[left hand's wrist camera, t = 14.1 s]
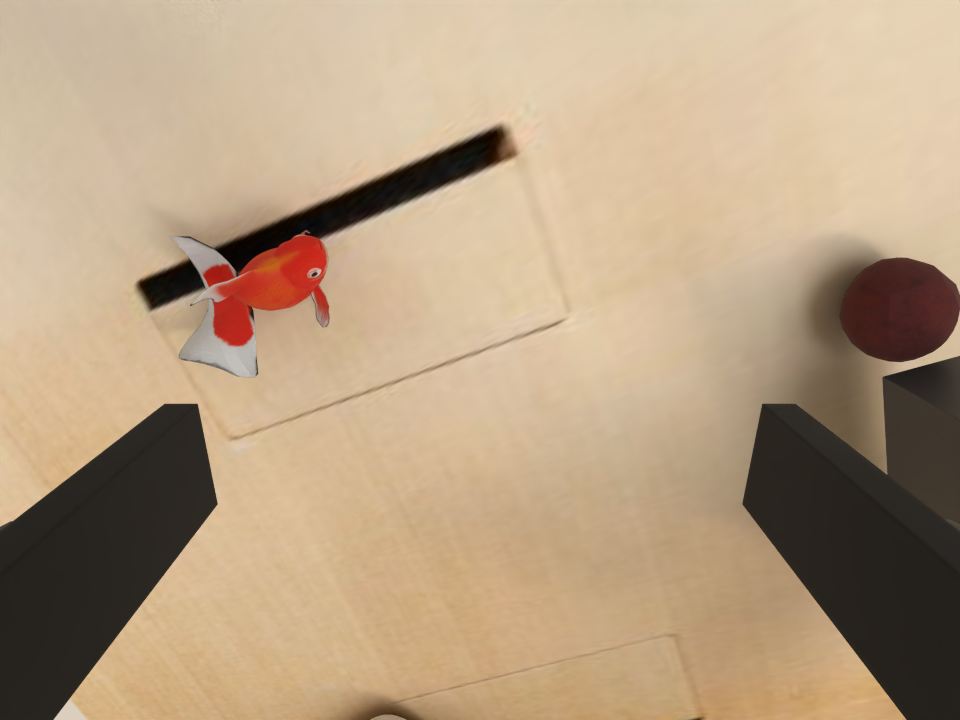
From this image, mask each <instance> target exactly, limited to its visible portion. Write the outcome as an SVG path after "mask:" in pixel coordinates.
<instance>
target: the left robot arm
mask: <svg viewBox="0 0 960 720" xmlns="http://www.w3.org/2000/svg"><path fill="white" fill-rule="evenodd" d="M216 506H217V499H216V494H215V489H214V484H213V479H212V474H211V469H210V464H209V458H208V453H207V448H206V443H205V438H204V433H203V428H202V423H201V418H200V413H199V408H198V404H164V405H163V406H161V407H160V408H159V409H157V410H156V411H155V412H154V413H152V414H151V415H150V416H148V417H147V418H146V419H144V420H143V421H142V422H141V423H139V424H138V425H137V426H135V427H134V428H133V429H132V430H130V431H129V432H128V433H126V434H125V435H124V436H123V437H121V438H120V439H119V440H117V441H116V442H115V443H113V444H112V445H111V446H110V447H108V448H107V449H106V450H104V451H103V452H102V453H101V454H99V455H98V456H97V457H95V458H94V459H93V460H92V461H90V462H89V463H88V464H86V465H85V466H84V467H82V468H81V469H80V470H79V471H77V472H76V473H75V474H73V475H72V476H71V477H70V478H68V479H67V480H66V481H64V482H63V483H62V484H61V485H59V486H58V487H57V488H55V489H54V490H53V491H51V492H50V493H49V494H48V495H46V496H45V497H44V498H42V499H41V500H40V501H39V502H37V503H36V504H35V505H33V506H32V507H31V508H30V509H28V510H27V511H26V512H24V513H23V514H22V515H20V516H19V517H18V518H17V519H15V520H14V521H11V522H9V523H7V524H5V525H3V526H1V527H0V720H54V718H55V717H56V716H57V714H58V713H59V712H60V710H61V709H62V708H63V706H64V705H65V704H66V702H67V701H68V700H69V699H70V697H71V696H72V695H73V693H74V692H75V691H76V689H77V688H78V687H79V685H80V684H81V683H82V681H83V680H84V679H85V678H86V676H87V675H88V674H89V672H90V671H91V670H92V668H93V667H94V666H95V664H96V663H97V662H98V660H99V659H100V658H101V657H102V655H103V654H104V653H105V651H106V650H107V649H108V647H109V646H110V645H111V643H112V642H113V641H114V639H115V638H116V637H117V636H118V634H119V633H120V632H121V630H122V629H123V628H124V626H125V625H126V624H127V622H128V621H129V620H130V618H131V617H132V616H133V615H134V613H135V612H136V611H137V609H138V608H139V607H140V605H141V604H142V603H143V601H144V600H145V599H146V597H147V596H148V595H149V594H150V592H151V591H152V590H153V588H154V587H155V586H156V584H157V583H158V582H159V580H160V579H161V578H162V576H163V575H164V574H165V573H166V571H167V570H168V569H169V567H170V566H171V565H172V563H173V562H174V561H175V559H176V558H177V557H178V555H179V554H180V553H181V552H182V550H183V549H184V548H185V546H186V545H187V544H188V542H189V541H190V540H191V538H192V537H193V536H194V534H195V533H196V532H197V531H198V529H199V528H200V527H201V525H202V524H203V523H204V521H205V520H206V519H207V517H208V516H209V515H210V513H211V512H212V511H213V510H214V508H215V507H216ZM743 506H744V507H745V508H746V510H747V511H748V512H749V513H750V515H751V516H752V517H753V519H754V520H755V521H756V523H757V524H758V525H759V527H760V528H761V529H762V531H763V532H764V533H765V534H766V536H767V537H768V538H769V540H770V541H771V542H772V544H773V545H774V546H775V548H776V549H777V550H778V552H779V553H780V554H781V555H782V557H783V558H784V559H785V561H786V562H787V563H788V565H789V566H790V567H791V569H792V570H793V571H794V573H795V574H796V575H797V576H798V578H799V579H800V580H801V582H802V583H803V584H804V586H805V587H806V588H807V590H808V591H809V592H810V594H811V595H812V596H813V597H814V599H815V600H816V601H817V603H818V604H819V605H820V607H821V608H822V609H823V611H824V612H825V613H826V615H827V616H828V617H829V618H830V620H831V621H832V622H833V624H834V625H835V626H836V628H837V629H838V630H839V632H840V633H841V634H842V636H843V637H844V638H845V639H846V641H847V642H848V643H849V645H850V646H851V647H852V649H853V650H854V651H855V653H856V654H857V655H858V657H859V658H860V659H861V660H862V662H863V663H864V664H865V666H866V667H867V668H868V670H869V671H870V672H871V674H872V675H873V676H874V678H875V679H876V680H877V681H878V683H879V684H880V685H881V687H882V688H883V689H884V691H885V692H886V693H887V695H888V696H889V697H890V699H891V700H892V701H893V702H894V704H895V705H896V706H897V708H898V709H899V710H900V712H901V713H902V714H903V716H904V717H905V718H906V720H960V524H958V523H956V522H954V521H952V520H950V519H943V518H942V517H941V516H940V515H938V514H937V513H936V512H934V511H933V510H932V509H930V508H929V507H928V506H927V505H925V504H924V503H923V502H921V501H920V500H919V499H918V498H916V497H915V496H914V495H912V494H911V493H910V492H909V491H907V490H906V489H905V488H903V487H902V486H901V485H899V484H898V483H897V482H896V481H894V480H893V479H892V478H890V477H889V476H888V475H887V474H885V473H884V472H883V471H881V470H880V469H879V468H878V467H876V466H875V465H874V464H872V463H871V462H870V461H868V460H867V459H866V458H865V457H863V456H862V455H861V454H859V453H858V452H857V451H856V450H854V449H853V448H852V447H850V446H849V445H848V444H847V443H845V442H844V441H843V440H841V439H840V438H839V437H837V436H836V435H835V434H834V433H832V432H831V431H830V430H828V429H827V428H826V427H825V426H823V425H822V424H821V423H819V422H818V421H817V420H816V419H814V418H813V417H812V416H810V415H809V414H808V413H806V412H805V411H804V410H803V409H801V408H800V407H799V406H797V405H796V404H762V408H761V413H760V418H759V423H758V428H757V433H756V438H755V443H754V448H753V453H752V458H751V464H750V469H749V474H748V479H747V484H746V489H745V494H744V499H743Z"/></svg>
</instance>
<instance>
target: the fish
mask: <svg viewBox="0 0 960 720" xmlns="http://www.w3.org/2000/svg"><path fill="white" fill-rule="evenodd" d="M305 232H308V231H304V232H303V233H302V234H300V235H296V236H295V237H293V238H292V239H291V240H289V241H287V242H284V243H282V244H281V245H280V246H279V247H278V248H274V249H271V250H268V251H266V252H263V253H261V254H259V255H258V256H256V257H255V258H253V259H252V260H251V261H250V262H249V263H248V264H247V265H246V266H245V267H244V268H243V270H242V271H241V272H240V274H239V275H238V273H237V272H236V271H235V270H234V268H233V267H232V266H231V265H230V263H229V262H228V261H227V260H226V259H225V258H224V257H223V256H222V255H220V254H219V253H218V252H217V251H215V250H214V249H213V248H212V247H210V246H208V245H206V244H204V243H202V242H200V241H198V240H196V239H194V238H191V237H180V236H168V237H170V238H171V239H172V240H173V241H174V242H175V243H176V244H177V245H178V246H179V247H180V248H181V249H182V250H183V251H184V252H185V253H186V254H187V256H188V257H189V259H190V260H191V262H192V263H193V265H194V266H195V267H196V269H197V270H198V272H199V274H200V277H201V279H202V281H203V283H204V285H205V287H206V291H204V292H203V293H202V294H201V295H200V296H199V297H198V298H197V299H196V300H195V301H194V302H193V303H192V304H191V305H190V306H192V305H194V304H196V303H198V302H200V301H202V300H204V299H208V303H209V306H208V311H207V313H206V315H205V317H204V319H203V321H202V323H201V325H200V326H199V327H198V329H197V330H196V331H195V332H194V333H193V335H192V336H191V337H190V338H189V339H188V341H187V342H186V344H185V345H184V346H183V348H182V349H181V351H180V353H179V358H180V359H182V360H186V361H193V362H198V363H203V364H207V365H210V366H213V367H216V368H220V369H222V370H225V371H227V372H229V373H231V374H233V375H235V376H238V377H251V378H255V377H256V375H257V374H258V368H257V359H256V337H255V325H254V314H253V309H252V307H254V308H257V309H263V310H279V309H285V308H289V307H292V306H295V305H296V304H298V303H299V302H301V301H302V300H304V299H306V298H307V297H308V296H309V295H310V294H311V296H312V299H313V301H314V303H315V306H316V318H317V320H318V322H319V323H320V325H321V326H322V327H327V325H328V324H329V305H328V302H327V299H326V296H325V294H324V293H323V291H322V289H321V288H320V286H319V284H320V282H321V281H322V279H323V278H324V275H325V273H326V270H327V266H328V253H327V249H326V247H325V246H324V244H323V242H322V241H320V240H319V239H318V238H316V237H312V236H307V235H304V234H305ZM308 233H310V232H308ZM310 234H311V233H310Z"/></svg>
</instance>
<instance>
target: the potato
mask: <svg viewBox="0 0 960 720" xmlns="http://www.w3.org/2000/svg"><path fill="white" fill-rule="evenodd" d="M959 311H960V294H959V291H958V289H957V286H956V284H955V283H954V282H952V281H951V280H950V279H949V278H948V277H946V276H945V275H944V274H943V273H942V272H941V271H939V270H938V269H937V268H936V267H935V266H933V265H930V264H927V263H924V262H920V261H916V260H913V259H909V258H891V259H882V260H880V261H878V262H876V263H875V264H873V265H871V266H869V267H867V268H866V269H864V270H863V271H862V272H861V273H860V274H859V275H858V276H857V277H856V278H855V279H854V280H853V282H852V283H851V285H850V287H849V289H848V290H847V292H846V294H845V295H844V299H843V303H842V308H841V312H840V320H841V324H842V328H843V330H844V331H845V333H846V335H847V336H848V338H849V339H850V341H851V342H852V343H853V344H854V345H855V346H856V347H857V348H859V349H860V350H861V351H863V352H864V353H865V354H867V355H869V356H872V357H875V358H878V359H882V360H886V361H891V362H904V361H909V360H914V359H917V358H920V357H922V356H925V355H927V354H929V353H931V352H933V351H935V350H936V349H938V348H939V347H940V346H942V345H943V344H944V343H945V342H946V341H947V339H948V338H949V336H950V335H951V333H952V332H953V330H954V328H955V326H956V324H957V321H958V316H959Z"/></svg>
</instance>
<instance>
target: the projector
mask: <svg viewBox="0 0 960 720" xmlns="http://www.w3.org/2000/svg"><path fill="white" fill-rule="evenodd" d="M370 720H406V719H404V718H402V717H399V716H395V715H380V716H377V717H374V718H372V719H370Z"/></svg>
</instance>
